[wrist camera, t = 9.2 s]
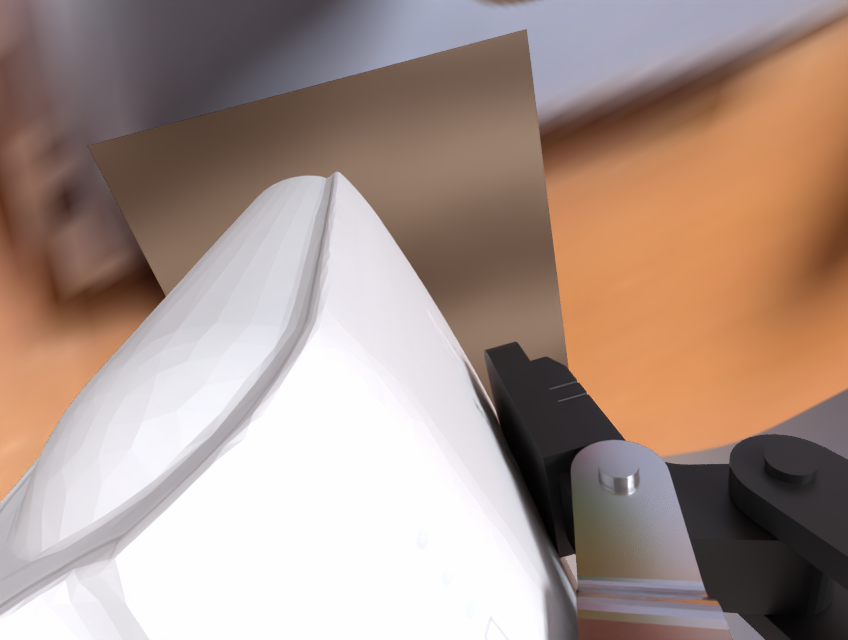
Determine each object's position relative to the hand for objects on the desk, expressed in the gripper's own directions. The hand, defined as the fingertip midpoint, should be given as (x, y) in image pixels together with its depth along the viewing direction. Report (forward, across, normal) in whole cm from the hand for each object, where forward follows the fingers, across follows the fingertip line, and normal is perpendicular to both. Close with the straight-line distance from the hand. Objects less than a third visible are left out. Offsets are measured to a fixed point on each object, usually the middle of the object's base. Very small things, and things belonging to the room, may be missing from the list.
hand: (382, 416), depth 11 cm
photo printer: (+5, 0, 0) cm, 5 cm away
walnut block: (+12, 0, 0) cm, 12 cm away
